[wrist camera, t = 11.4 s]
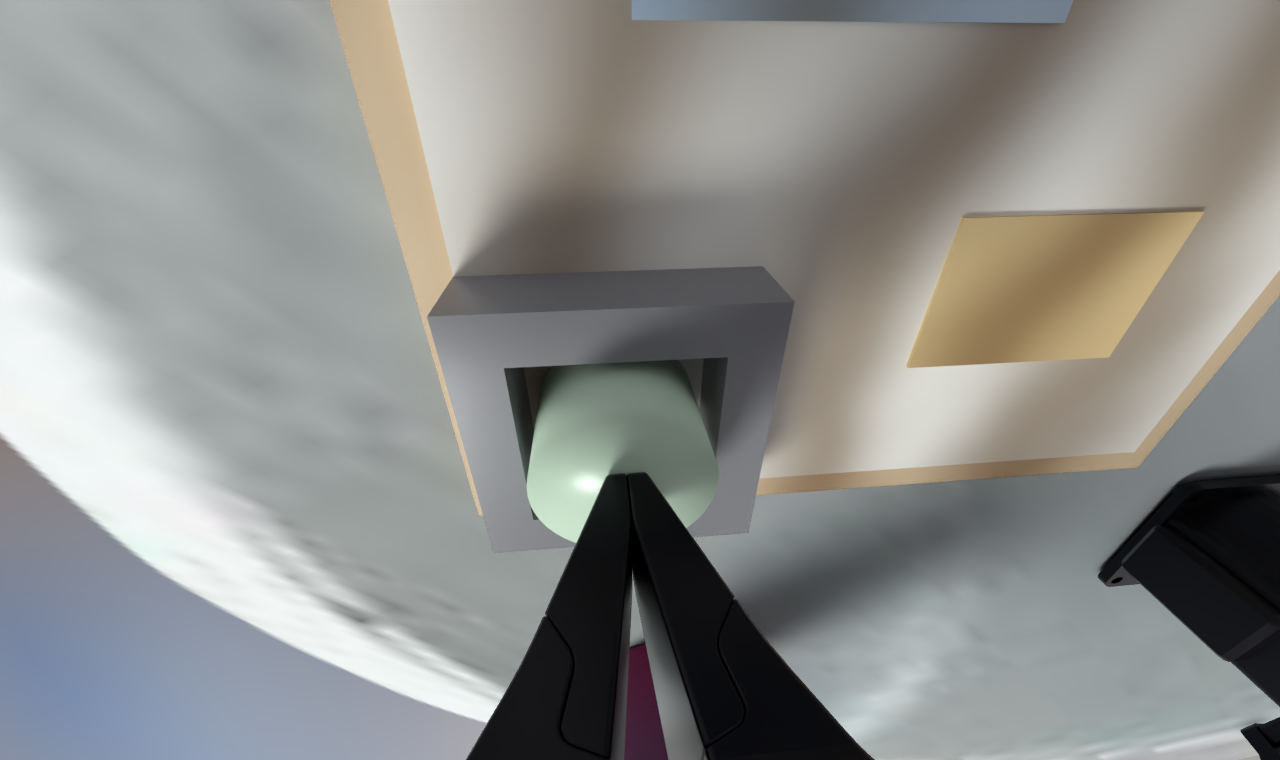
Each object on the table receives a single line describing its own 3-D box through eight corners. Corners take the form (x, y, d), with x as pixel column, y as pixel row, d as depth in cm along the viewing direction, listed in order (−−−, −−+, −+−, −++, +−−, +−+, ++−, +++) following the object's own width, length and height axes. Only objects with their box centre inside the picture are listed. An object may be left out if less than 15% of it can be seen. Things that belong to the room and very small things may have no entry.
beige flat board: (1992, -688, 6) (2241, -823, 5) (1116, 451, 17) (1146, 473, 16) (76, -1001, 4) (-63, -1291, 3) (483, 496, 15) (477, 523, 14)
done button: (697, 332, 11) (728, 407, 9) (687, 454, 13) (710, 541, 11) (529, 340, 11) (512, 419, 8) (548, 464, 13) (539, 555, 11)
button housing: (762, 266, 11) (794, 302, 9) (730, 480, 15) (748, 533, 13) (453, 276, 10) (426, 316, 9) (504, 496, 14) (493, 553, 12)
